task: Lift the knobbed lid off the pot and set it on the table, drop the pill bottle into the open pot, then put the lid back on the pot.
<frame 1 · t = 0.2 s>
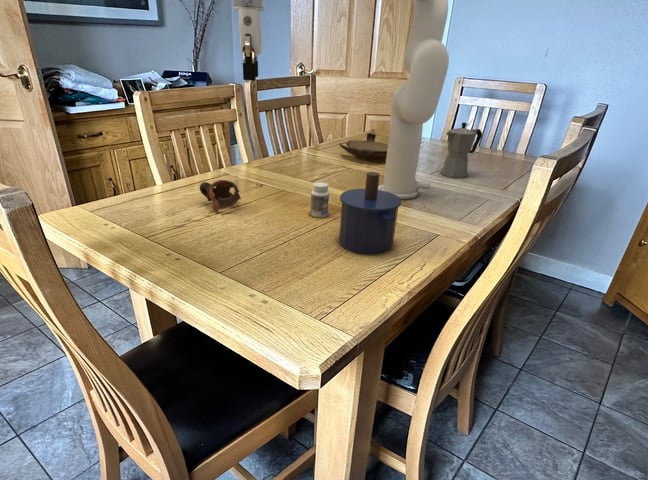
hand: (251, 78, 118), 31 cm above the table, tool pointing down, fingers open, 9 cm apart
lid: (370, 200, 99), point 10 cm above the table, touching pot
pot: (365, 243, 104), on the table
pottery mug: (220, 206, 121), on the table
pill bottle: (319, 215, 119), on the table
coffeepot: (456, 174, 160), on the table
brown shallow dish: (370, 156, 177), on the table
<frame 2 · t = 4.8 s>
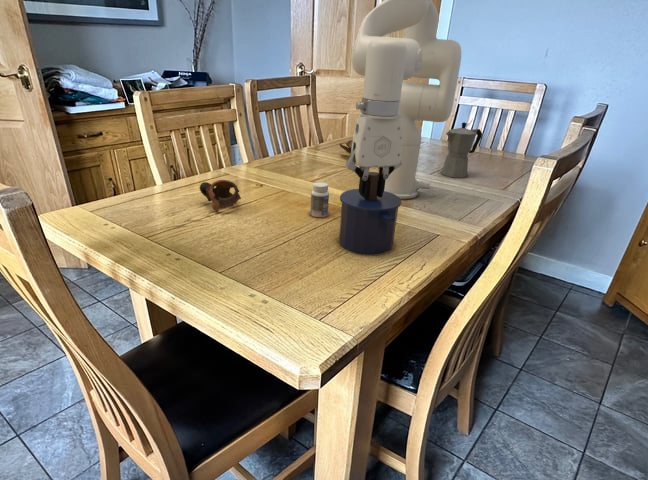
hand: (370, 195, 98), 12 cm above the table, tool pointing down, fingers closed on lid, 2 cm apart
lid: (370, 200, 99), point 11 cm above the table, touching gripper, pot
everything else where it was.
when the fingers open (2 cm above the table, at t = 11.9 s): lid stays where it is, point 1 cm above the table.
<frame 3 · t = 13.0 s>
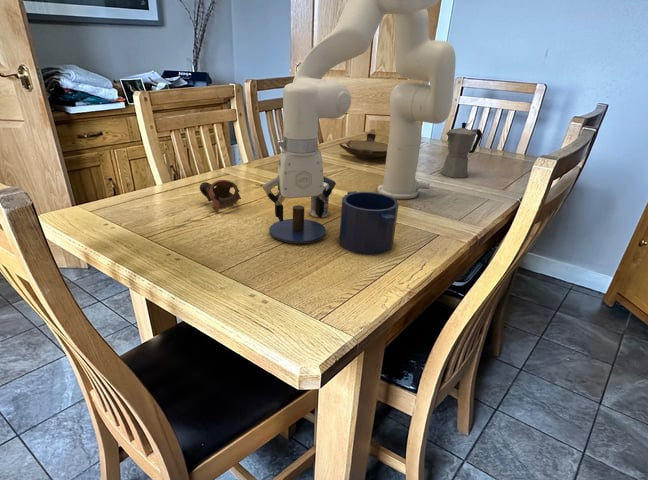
hand: (299, 217, 105), 4 cm above the table, tool pointing down, fingers open, 9 cm apart
lid: (298, 231, 107), point 1 cm above the table
everything else where it was.
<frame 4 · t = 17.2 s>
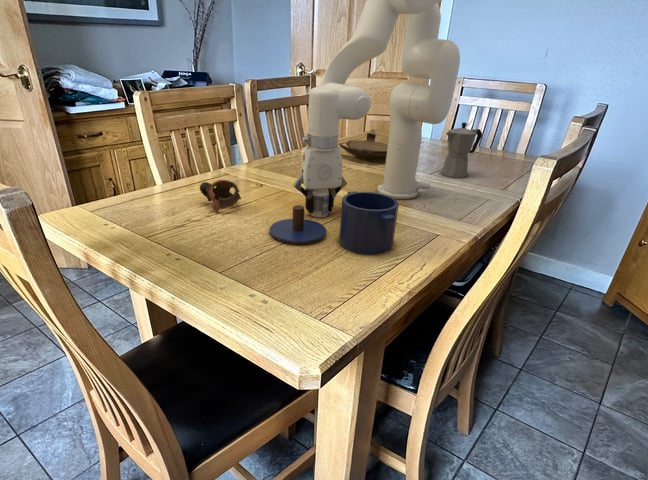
hand: (319, 210, 118), 1 cm above the table, tool pointing down, fingers closed on pill bottle, 4 cm apart
pill bottle: (319, 215, 119), on the table, touching gripper
everything else where it was.
when the fingers open (9 cm above the table, at t = 24.1 s): pill bottle drops 8 cm, resting on pot.
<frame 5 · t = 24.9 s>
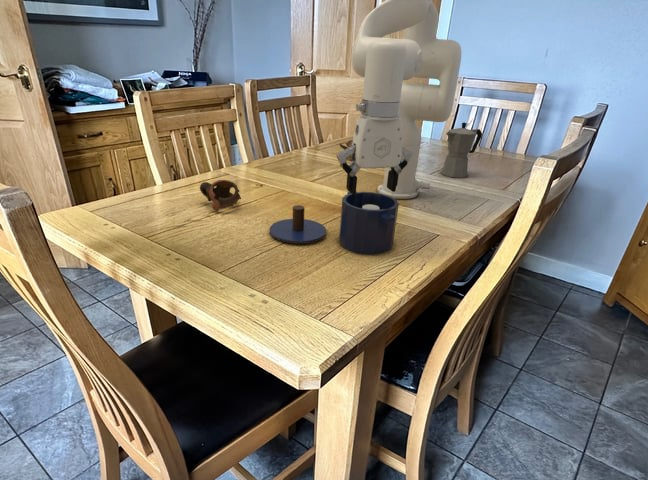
hand: (371, 191, 98), 13 cm above the table, tool pointing down, fingers open, 9 cm apart
pill bottle: (367, 241, 104), resting on pot
everything else where it was.
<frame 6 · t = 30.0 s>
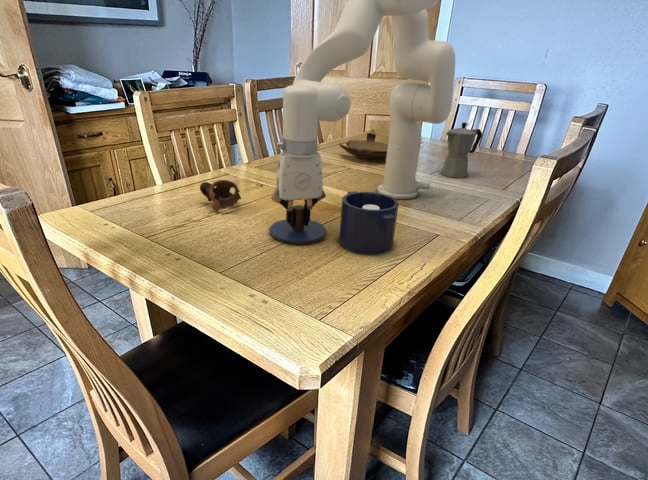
hand: (298, 224, 106), 3 cm above the table, tool pointing down, fingers closed on lid, 2 cm apart
lid: (298, 231, 107), point 1 cm above the table, touching gripper
everything else where it was.
when the fingers open (12 cm above the table, at t = 36.4 s): lid stays where it is, resting on pot.
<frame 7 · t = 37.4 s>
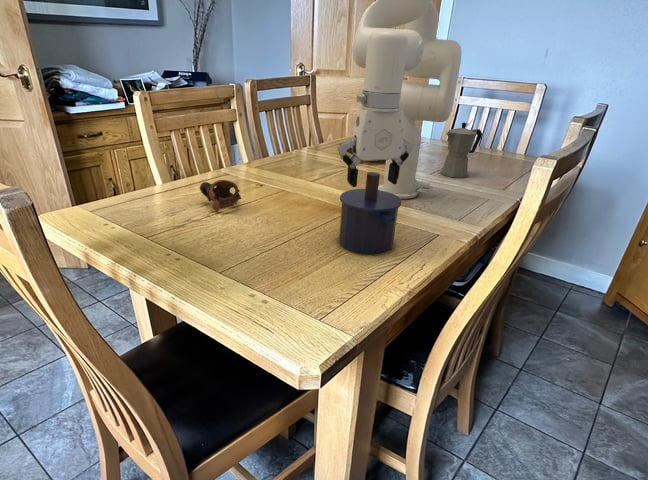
hand: (372, 183, 97), 14 cm above the table, tool pointing down, fingers open, 9 cm apart
lid: (370, 201, 99), point 10 cm above the table, touching pot
everything else where it was.
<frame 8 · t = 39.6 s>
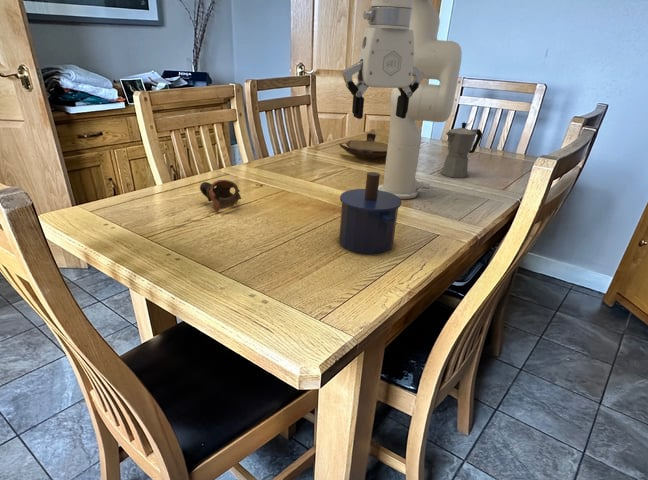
hand: (379, 117, 90), 28 cm above the table, tool pointing down, fingers open, 9 cm apart
nothing on the table moved.
at the end: pill bottle inside the target area in the pot (0.4 cm from its centre), point 0.3 cm above the pot's base; lid 0.1 cm off-centre on the pot, point 10.5 cm above the pot's base; lid tilted 0° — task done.
